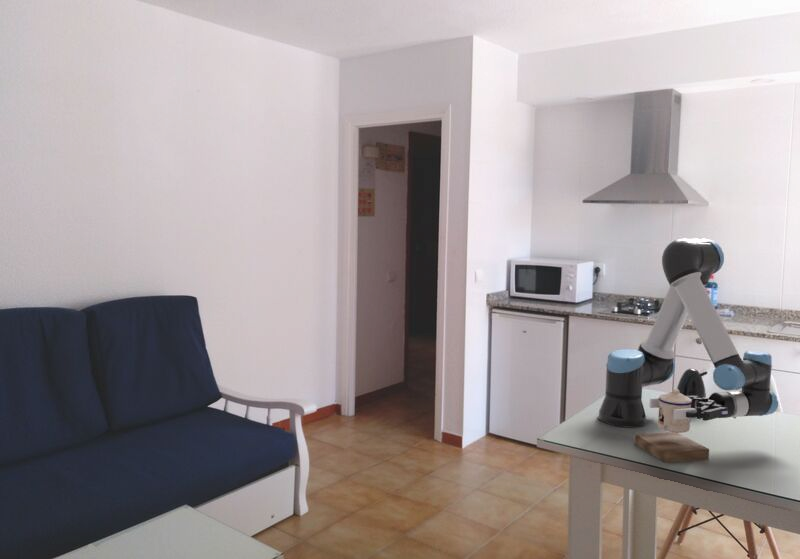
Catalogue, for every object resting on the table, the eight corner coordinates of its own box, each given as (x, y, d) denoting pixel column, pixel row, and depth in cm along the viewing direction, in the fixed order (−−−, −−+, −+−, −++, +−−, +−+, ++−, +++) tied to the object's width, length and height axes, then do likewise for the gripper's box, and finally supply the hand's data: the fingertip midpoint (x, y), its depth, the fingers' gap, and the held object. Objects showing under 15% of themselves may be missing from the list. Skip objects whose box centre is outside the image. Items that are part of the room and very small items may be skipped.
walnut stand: (634, 444, 200) (635, 434, 200) (675, 441, 203) (675, 431, 203) (665, 462, 186) (666, 452, 185) (708, 459, 189) (709, 449, 189)
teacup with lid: (657, 421, 200) (659, 384, 199) (689, 425, 197) (692, 387, 196) (656, 433, 189) (659, 394, 188) (691, 438, 186) (693, 397, 185)
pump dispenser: (711, 415, 231) (714, 372, 229) (681, 414, 231) (684, 371, 229) (698, 406, 241) (701, 365, 239) (669, 405, 241) (672, 365, 240)
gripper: (755, 429, 186) (687, 434, 181) (700, 405, 209) (638, 409, 203) (757, 403, 185) (689, 407, 180) (701, 382, 208) (639, 385, 203)
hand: (662, 408), depth 192 cm, fingers closed on teacup with lid, 11 cm apart
